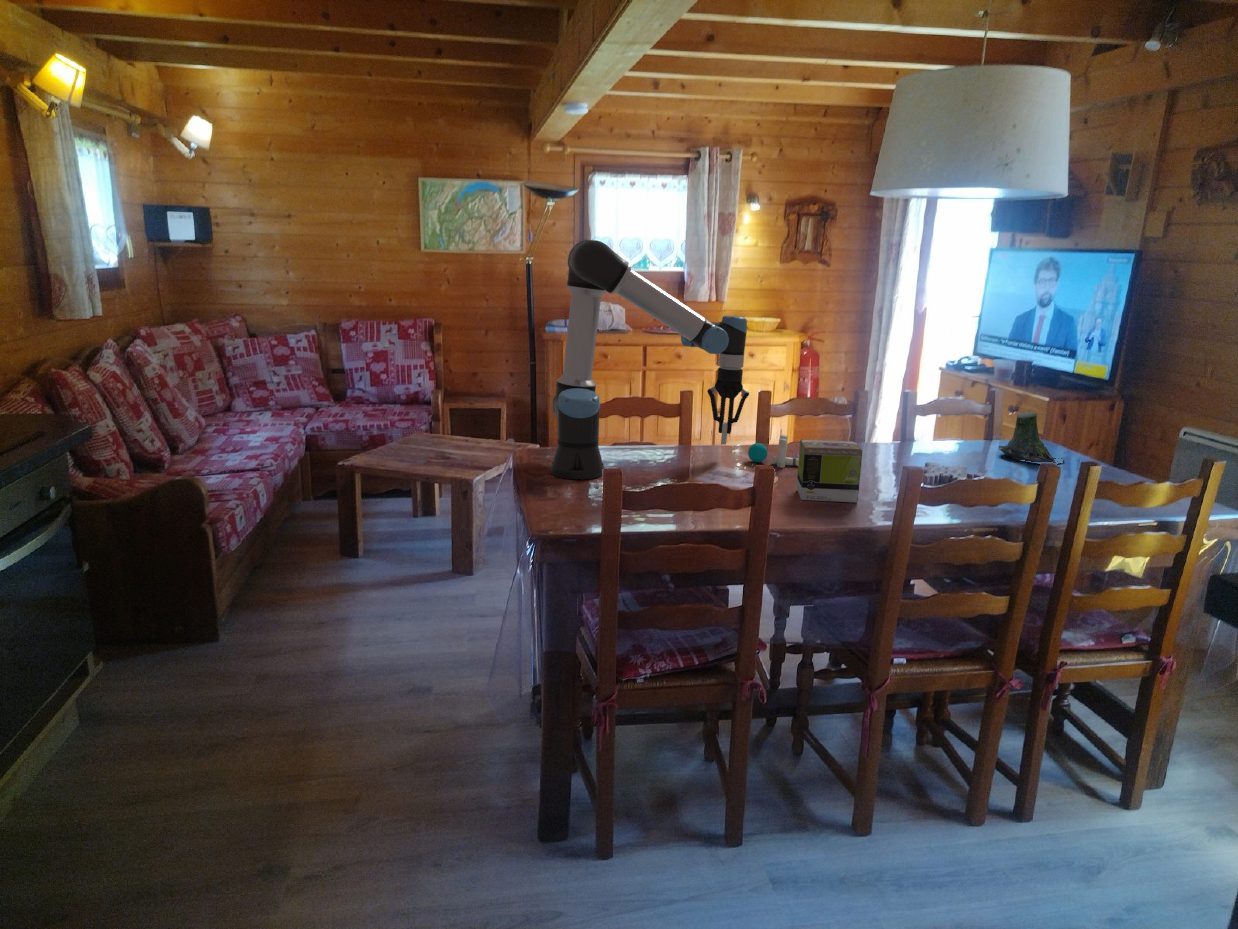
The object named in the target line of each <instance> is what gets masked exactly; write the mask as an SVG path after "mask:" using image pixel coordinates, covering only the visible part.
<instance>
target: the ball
mask: <svg viewBox="0 0 1238 929" xmlns="http://www.w3.org/2000/svg"><path fill="white" fill-rule="evenodd" d="M747 456H748V458H749V459H750V460H751V461H752V462H753V463H754V462H755V463H761V462H763V461H765V460H766V459H767V457H768V449H767V446H765V445H764V444H762V443H760V442H755V443H753V444H751V445H750V446H749V448H748V450H747Z"/></svg>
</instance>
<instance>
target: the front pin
mask: <svg viewBox="0 0 1238 929" xmlns="http://www.w3.org/2000/svg"><path fill="white" fill-rule="evenodd" d="M777 460H778V456H776V455H775V456H774V455H773V456H772V465H777ZM798 465H799V457H788V456H786V461H785V466H793V467H798Z"/></svg>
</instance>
